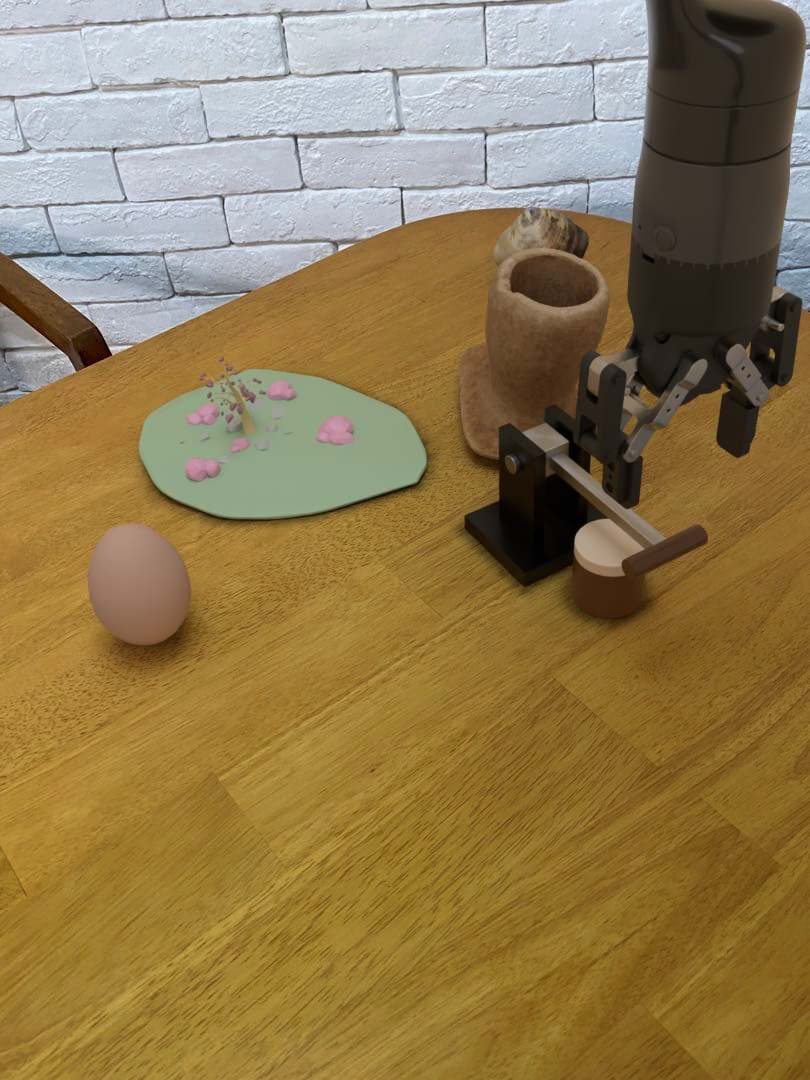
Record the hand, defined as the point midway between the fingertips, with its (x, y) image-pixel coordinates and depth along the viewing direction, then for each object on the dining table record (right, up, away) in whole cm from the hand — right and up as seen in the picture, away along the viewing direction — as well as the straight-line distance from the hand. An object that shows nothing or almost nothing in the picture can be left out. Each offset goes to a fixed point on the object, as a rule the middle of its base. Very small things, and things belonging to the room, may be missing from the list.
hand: (677, 475), depth 68 cm
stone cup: (-6, +6, +29) cm, 31 cm away
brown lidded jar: (-2, -8, +13) cm, 15 cm away
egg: (-34, -11, +12) cm, 38 cm away
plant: (-27, +4, +29) cm, 39 cm away
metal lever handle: (-3, -2, +9) cm, 10 cm away
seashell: (-3, +22, +47) cm, 52 cm away
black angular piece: (-6, -3, +18) cm, 19 cm away
